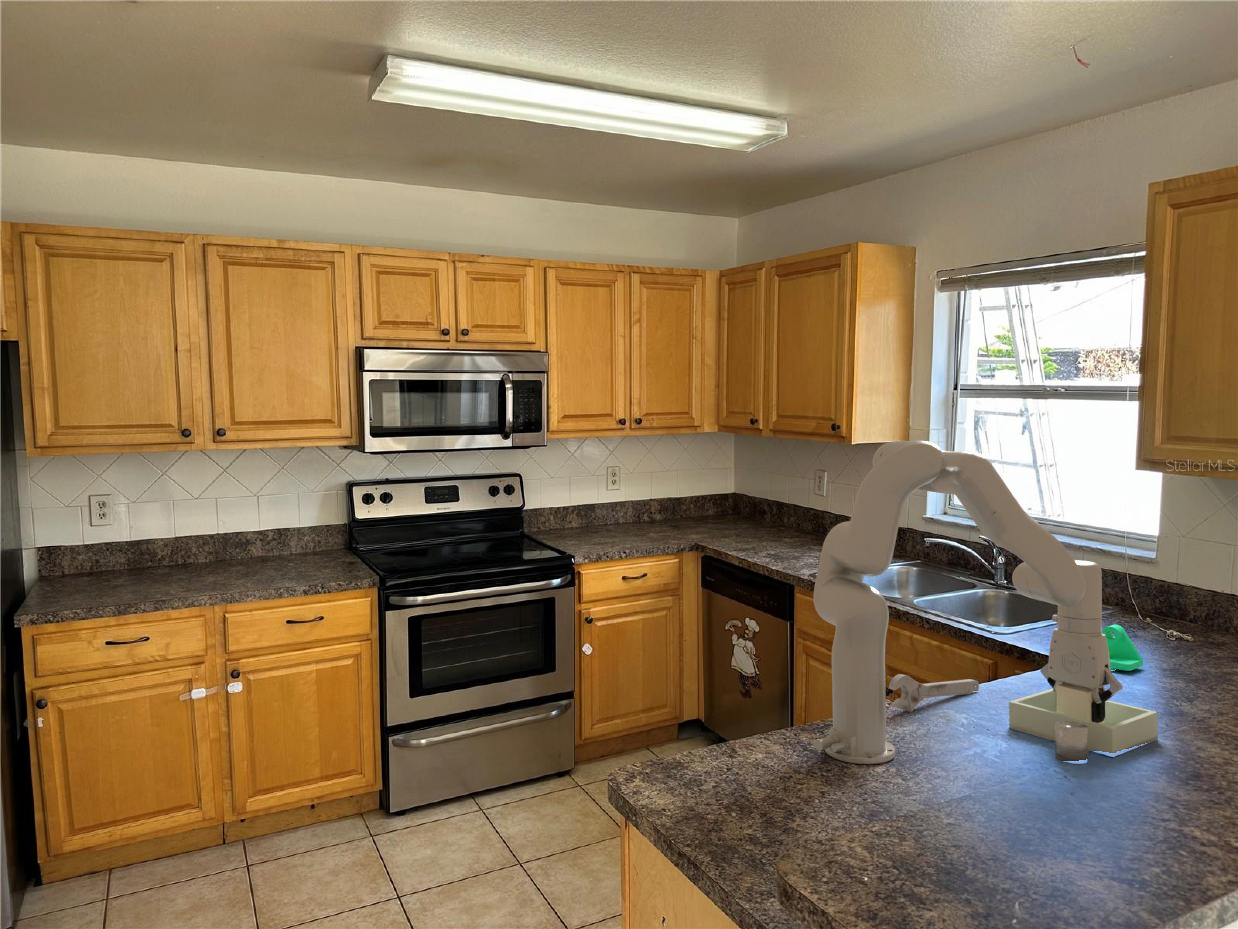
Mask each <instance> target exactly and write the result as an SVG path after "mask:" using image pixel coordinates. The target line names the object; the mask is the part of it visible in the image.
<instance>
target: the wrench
mask: <svg viewBox="0 0 1238 929" xmlns="http://www.w3.org/2000/svg"><path fill="white" fill-rule="evenodd" d="M979 684H980V683H979V681H977V680H975V679H970V678H968V679H957V680H948V681H947V680H946V681H939V682H938V681H937V682H928V683H920V682H918V681H916V680H915V679H913V677H911V676H909V675H906V674H901V673H898V674H896V675H895V676H893V677H892V678H891V680H890V681H889V684H888V689H889V690H892V691H897V690H899V688H900V690H901V694H900V697H898V698H896V699H895V700H894V701H893V702H892V703H893V706H894V707H895V708H897V709H900V710H904V711H906V712H909V713H913V711H914V709H915V707H916V706H917V705H918V704H919V703H921V701H923V700H924V699H925V700H926V699H928V698H938V697H949V696H961V695H962V696H963V695H971V693H973V694H975V693H974V692H973V691H978V692H979V689H980V685H979ZM975 686H976V687H975Z"/></svg>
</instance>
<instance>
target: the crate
mask: <svg viewBox="0 0 1238 929" xmlns="http://www.w3.org/2000/svg"><path fill="white" fill-rule="evenodd" d="M1008 717H1009V718H1008V723H1009V727H1008V728H1009V729H1012V730H1015V731H1018V732H1021V733H1025V734H1029V735H1032V736H1036V737H1039V738H1042V739H1046V740H1050V741H1052V742H1055V723H1056V722H1059V721H1071V722H1077V723H1081V724H1084V725H1086V726H1087V727H1088V752H1090V751H1102V752H1109V753H1116V752H1117V751H1121V750H1123V749H1129V748H1132V747H1134V746H1139V745H1141V744H1145V743H1149V742H1151V743H1153V742H1152V741H1154V742H1156V741H1158V740H1159V737H1158V736H1159V735H1158V734H1159V733H1158V732H1159V730H1158V726H1159V723H1158V712H1157V711H1154V710H1151V709H1145V708H1142V707H1137V706H1134V705H1130V704H1126V703H1122V702H1117V701H1112V700H1109V699H1108V700H1107V701H1105V718H1104V724H1099V723H1095V722H1092V721H1088V720H1084V719H1080V718H1076V717H1072V716H1069V715H1065V714H1061V713H1057V712H1056V693H1054V691H1053V688H1049V689H1047V690H1043V691H1040V692H1036V693H1033V694H1029V695H1027V696H1023V697H1019V698H1016V699H1013V700H1010V701H1008ZM1155 740H1156V741H1155ZM1149 744H1150V743H1149Z"/></svg>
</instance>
